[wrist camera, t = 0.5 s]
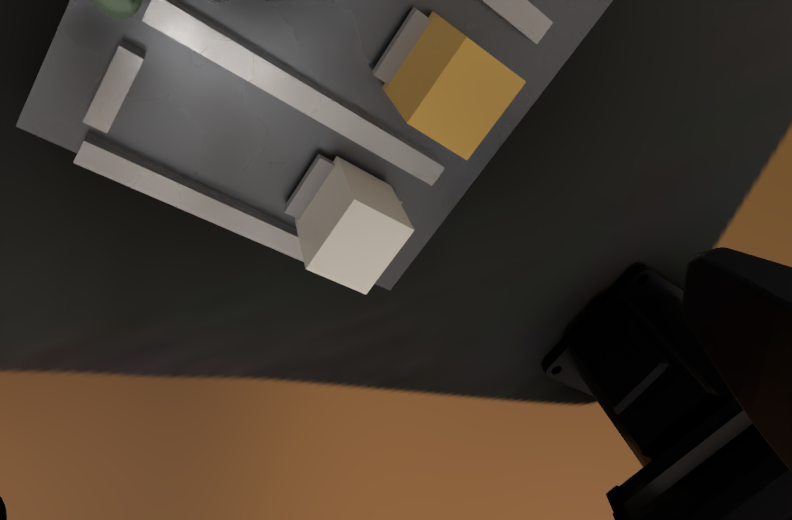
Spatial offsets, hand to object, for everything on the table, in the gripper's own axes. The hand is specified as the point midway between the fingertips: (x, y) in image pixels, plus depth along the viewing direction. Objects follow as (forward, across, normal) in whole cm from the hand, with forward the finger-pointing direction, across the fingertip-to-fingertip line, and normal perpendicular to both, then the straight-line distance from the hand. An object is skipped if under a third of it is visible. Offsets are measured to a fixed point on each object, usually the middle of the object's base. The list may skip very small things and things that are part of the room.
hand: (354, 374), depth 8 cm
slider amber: (+11, -4, 0) cm, 12 cm away
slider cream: (+11, -1, +4) cm, 12 cm away
